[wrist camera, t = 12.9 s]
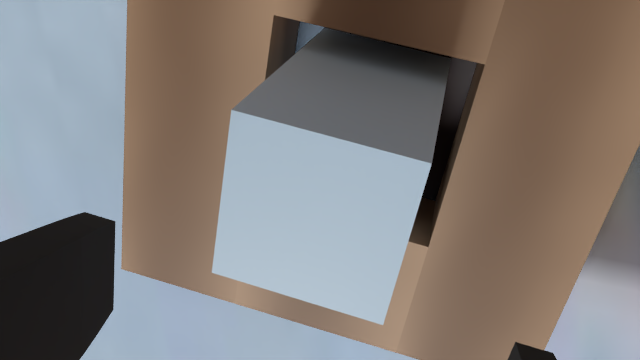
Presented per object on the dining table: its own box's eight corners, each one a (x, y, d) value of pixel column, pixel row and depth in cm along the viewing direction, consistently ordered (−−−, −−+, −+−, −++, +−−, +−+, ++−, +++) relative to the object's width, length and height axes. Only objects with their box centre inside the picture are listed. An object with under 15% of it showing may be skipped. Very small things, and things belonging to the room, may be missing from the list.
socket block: (698, -87, 15) (743, -82, 13) (519, 331, 22) (524, 391, 19) (185, -185, 17) (131, -199, 14) (161, 226, 24) (121, 268, 21)
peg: (451, 58, 18) (431, 163, 11) (417, 174, 20) (382, 325, 13) (325, 27, 19) (231, 109, 12) (303, 142, 21) (211, 272, 14)
